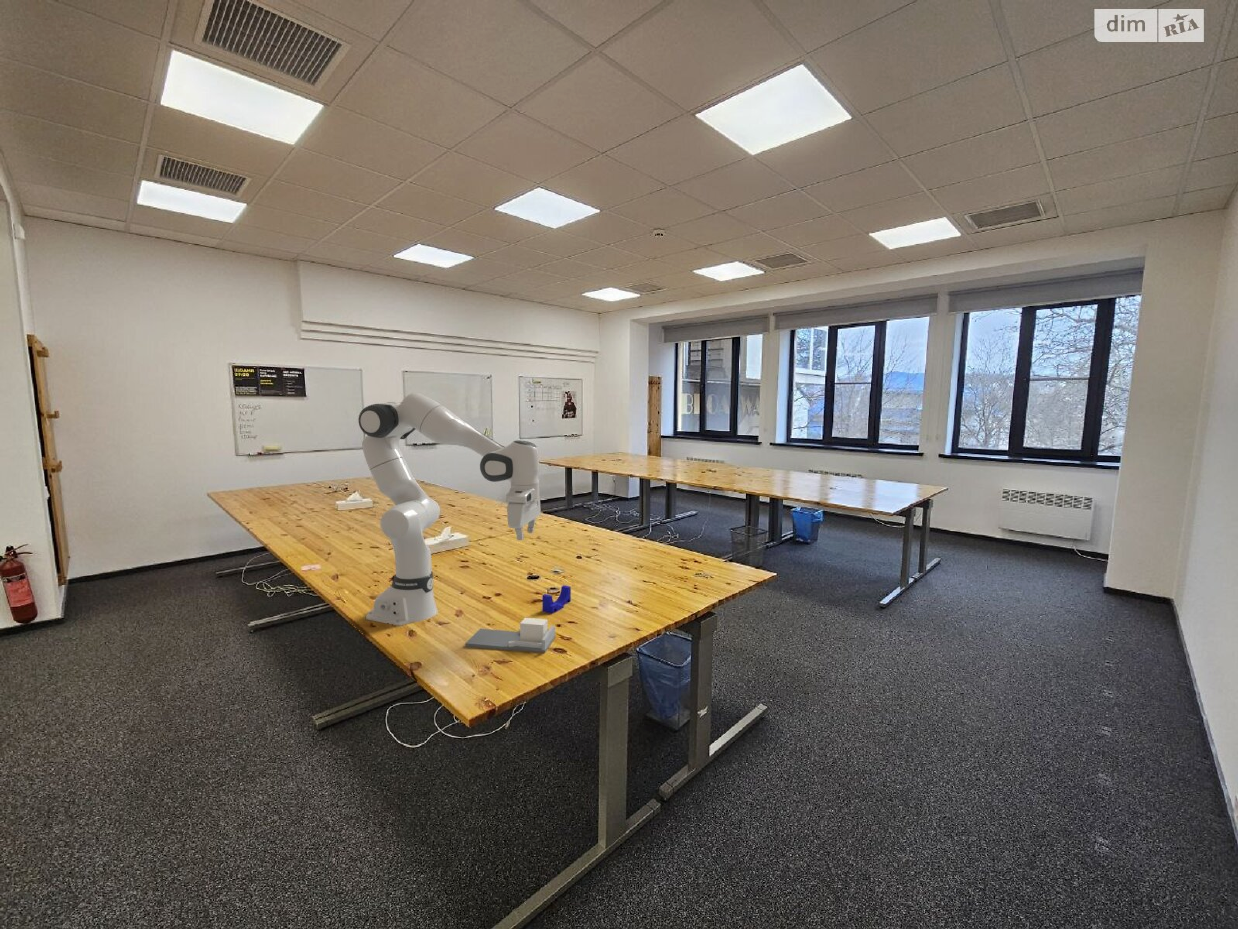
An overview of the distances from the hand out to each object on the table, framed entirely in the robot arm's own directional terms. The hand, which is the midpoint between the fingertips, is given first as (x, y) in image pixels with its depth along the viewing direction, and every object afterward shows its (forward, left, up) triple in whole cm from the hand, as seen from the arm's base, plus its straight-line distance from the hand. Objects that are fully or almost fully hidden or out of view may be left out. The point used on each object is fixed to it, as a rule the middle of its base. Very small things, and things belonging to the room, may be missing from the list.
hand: (525, 536), depth 158 cm
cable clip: (+6, +16, -30) cm, 34 cm away
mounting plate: (0, -13, -29) cm, 32 cm away
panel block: (+7, -13, -28) cm, 32 cm away
